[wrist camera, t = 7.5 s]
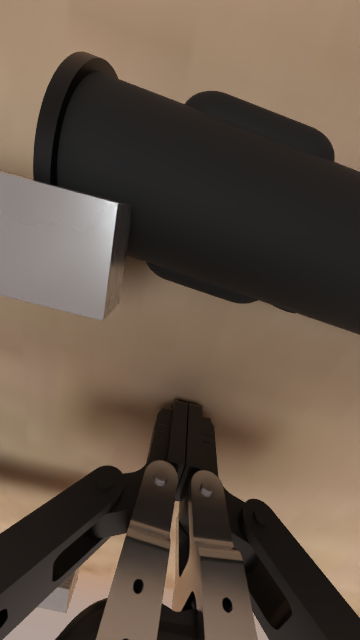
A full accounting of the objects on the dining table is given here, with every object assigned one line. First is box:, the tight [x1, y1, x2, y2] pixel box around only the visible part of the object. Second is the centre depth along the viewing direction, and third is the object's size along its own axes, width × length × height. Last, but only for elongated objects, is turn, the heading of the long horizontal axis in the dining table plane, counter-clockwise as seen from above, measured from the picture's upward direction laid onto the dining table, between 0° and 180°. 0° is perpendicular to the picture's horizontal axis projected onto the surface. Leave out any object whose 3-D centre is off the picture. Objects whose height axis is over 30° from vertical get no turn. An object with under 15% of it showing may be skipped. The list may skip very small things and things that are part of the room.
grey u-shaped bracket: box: [0, 171, 132, 613], centre depth 11 cm, size 9×18×6 cm, turn 166°
